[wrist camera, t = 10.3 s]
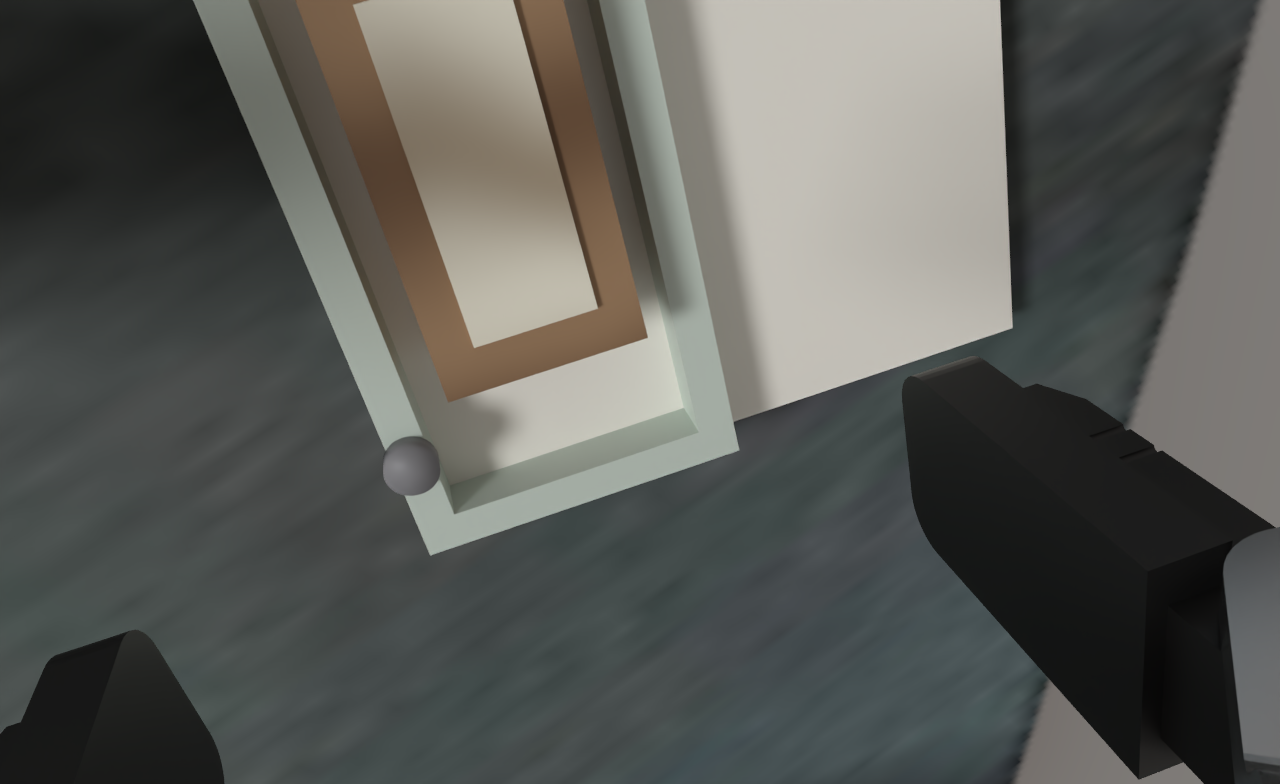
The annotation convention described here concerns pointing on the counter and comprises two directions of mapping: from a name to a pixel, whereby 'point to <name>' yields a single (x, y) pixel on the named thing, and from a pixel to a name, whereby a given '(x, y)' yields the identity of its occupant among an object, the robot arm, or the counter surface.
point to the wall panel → (676, 234)
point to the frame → (483, 179)
